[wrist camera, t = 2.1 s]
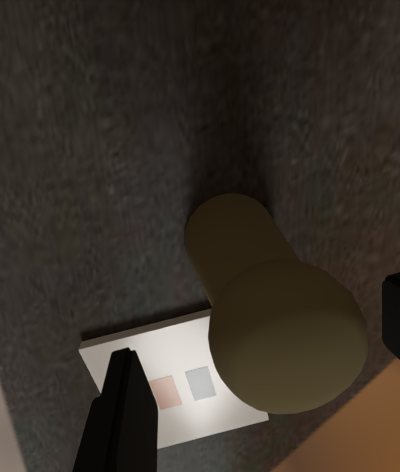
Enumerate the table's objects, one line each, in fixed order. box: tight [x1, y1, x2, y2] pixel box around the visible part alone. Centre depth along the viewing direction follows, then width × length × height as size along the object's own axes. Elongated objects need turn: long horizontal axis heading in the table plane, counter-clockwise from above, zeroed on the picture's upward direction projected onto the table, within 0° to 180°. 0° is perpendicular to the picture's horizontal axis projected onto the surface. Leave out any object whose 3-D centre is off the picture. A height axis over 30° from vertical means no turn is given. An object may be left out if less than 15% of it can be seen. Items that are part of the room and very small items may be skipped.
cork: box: [184, 193, 368, 414], centre depth 13 cm, size 6×6×11 cm
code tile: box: [79, 308, 268, 449], centre depth 22 cm, size 12×12×1 cm
